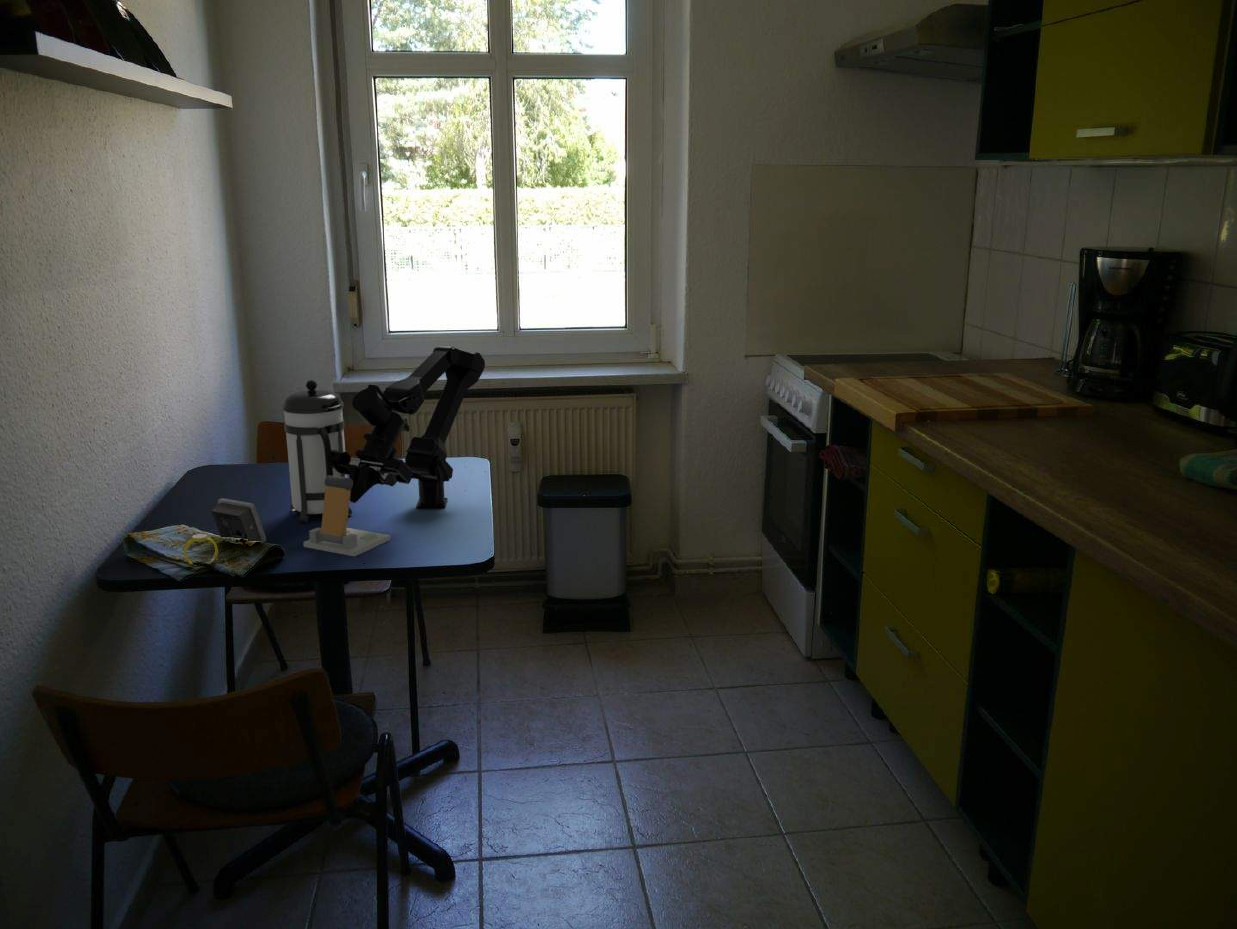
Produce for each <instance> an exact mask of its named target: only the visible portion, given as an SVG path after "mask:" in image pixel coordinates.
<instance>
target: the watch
mask: <svg viewBox="0 0 1237 929" xmlns="http://www.w3.org/2000/svg"><path fill="white" fill-rule="evenodd" d="M204 541H208V542H211V544H213V545H214V553H213V556H212V557H214V558H216V559H217V558H218V555H219V549H218V545H217V543H216V542H215V541H214V540H213V539H212V538H211V537H210V536H208V534H207V533H197V534H194V535H192V536H191V538H190V539H189V540H188V541H186V543H185V545H184V547H183V556H184V559H185V561H186V562H187V563H188V564H189V565H190V566H192V565H191V564H193V563H194V562H193V561H192V562H193V563H192V562H191V560H190V559H189V557H188V550H189V547H190V546H191V545H192V544H193V543H194V542H204Z"/></svg>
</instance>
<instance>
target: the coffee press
mask: <svg viewBox="0 0 1237 929" xmlns="http://www.w3.org/2000/svg"><path fill="white" fill-rule="evenodd" d="M317 386H318V384H317V382H316V381H315V380H313V379H310V380H308V381H307V382H306V385H305V387H306V388H307V389H306V390H300V391H296V392H293V393H291V394H289V395H287V397H285V399H284V402H283V404H282V405H281V410H282V412H284V414H283V415H284V422H283V423H284V432H285V436H286V446H287V457H288V458H287V460H288V468H289V470H288V471H289V481H290V483H289V484H290V492H291V502H292V504H291V505H290V510H291V511H292V512H296V511H297V512H299V513H300V515H299V519H298V520H299V522H300V523H303V524H304V523H306V524H307V523H308V522H309V520H310V517H312V515H323V507H324V498H325V488H326V486H325V483H324V481H325V478H326V477H327V476H328V475H330V476H337V477H344V478H348V475H345V474H340V473H338V472H337V471H336V470H335V469H334V468H333V466H332V461H329V460H328V459H326V458H328V457H329V456H330V455H331V451H332V450H337V451H344V452H346V444H345V431H344V429H345V420H344V416H343V408H344V407H345V405H344V404H345V403H344V401H342V399H341V397H340V395H339V394H338V393H336V392H334V391H331V390H326V389H325V390H324V389H317V388H318V387H317ZM325 459H326V460H325ZM352 514H353V510H352V509H351V507H350V506H349V511H348V517H349V516H351V515H352Z"/></svg>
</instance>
